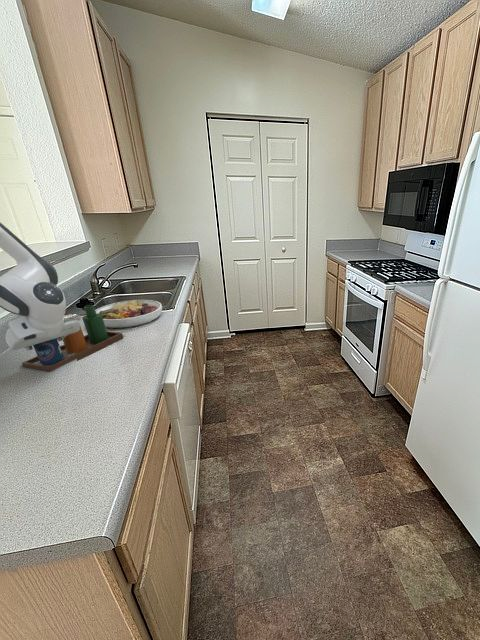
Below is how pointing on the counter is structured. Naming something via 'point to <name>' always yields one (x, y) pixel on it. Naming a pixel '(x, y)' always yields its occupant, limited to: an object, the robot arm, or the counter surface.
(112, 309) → the bowl
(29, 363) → the tray
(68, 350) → the amber bottle
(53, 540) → the counter surface
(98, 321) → the green bottle
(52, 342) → the soda can
